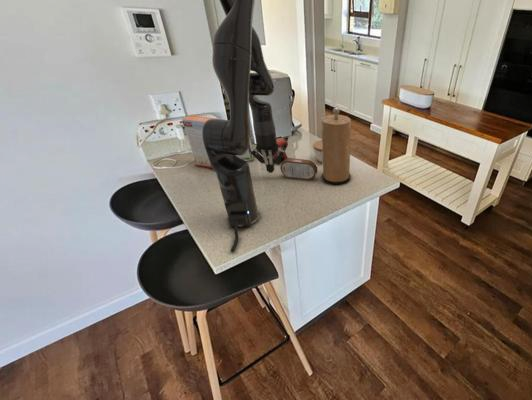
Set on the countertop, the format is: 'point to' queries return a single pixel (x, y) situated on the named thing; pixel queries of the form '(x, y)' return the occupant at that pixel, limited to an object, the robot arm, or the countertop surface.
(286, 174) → the tin
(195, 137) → the cracker box
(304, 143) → the countertop surface
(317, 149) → the trinket box
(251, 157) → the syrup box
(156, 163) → the countertop surface
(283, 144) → the stuffed fox
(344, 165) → the paper towel roll
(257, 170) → the countertop surface
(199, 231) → the countertop surface
